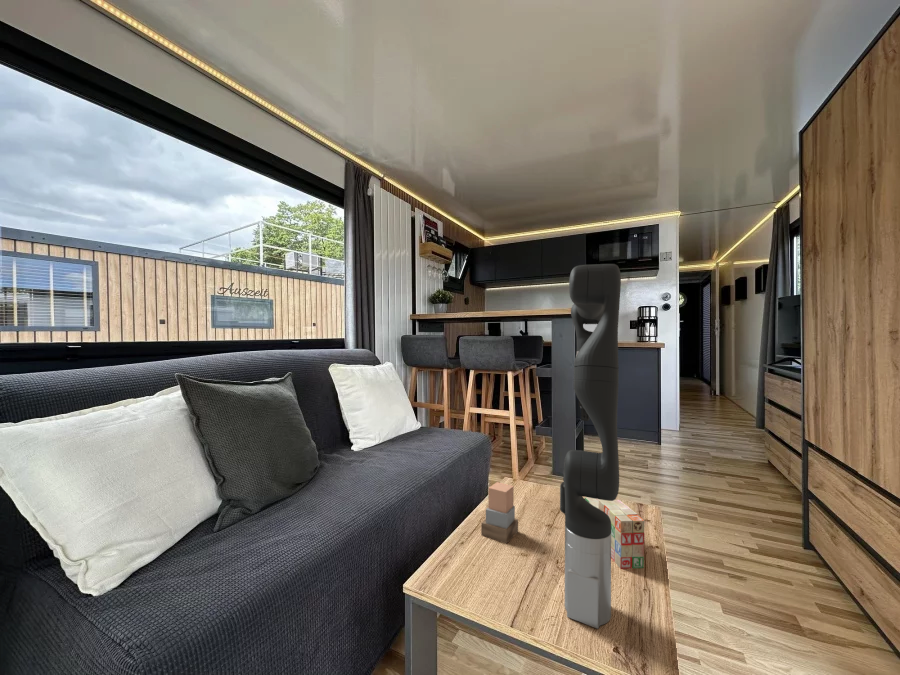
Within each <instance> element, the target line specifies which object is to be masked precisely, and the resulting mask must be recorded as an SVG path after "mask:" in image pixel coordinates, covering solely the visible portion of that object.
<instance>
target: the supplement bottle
mask: <svg viewBox="0 0 900 675" xmlns="http://www.w3.org/2000/svg"><path fill="white" fill-rule="evenodd" d="M562 476H563V477H562V482H561V483H560V486H559V510H560V511H561V513H563V515H565V487H564V474H563V475H562Z"/></svg>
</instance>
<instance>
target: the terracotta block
mask: <svg viewBox="0 0 900 675" xmlns="http://www.w3.org/2000/svg"><path fill="white" fill-rule="evenodd" d="M514 491H515V488H514V485H510V484H506V483H502V482H499V481H496V482H495V483H494V484H492V485H491V486H489V487H488V496H487V497H488V507H487V508H489V509H492V510H496V511H499V512H503V513H506V512H508V511H509V510H510V509H511V508H512V507H513V506H514V501H515V500H514Z"/></svg>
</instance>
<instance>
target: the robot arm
mask: <svg viewBox="0 0 900 675" xmlns="http://www.w3.org/2000/svg"><path fill="white" fill-rule="evenodd" d="M621 278H622V277H621V270H620V268H619V266H618V265H617V264H615V263H600V264H599V263H598V264H579V265H576V266H574V267H573V268H572V270H571V271H570V275H569V279H568V280H569V282H568V291H569V292H568V293H569V297H570V300H571V303H573V304H572V306H571V308H570V316H571V319H572V322H573V325H574V330H575V334H576V355H575V358H574V361H573V362H574V363H573V390H574V393H575V395H576V398H577V399H578V406H579V407H580V420H581V421H583V422H588V421H590V420H591V422H592V424H593V426H594V428H595V430H596V432H597V434H598V437H599V440H600V444H601V449H602V452H596V451H588V450H587V451H586V450H579V449H570V450H568V451H567V452H566V454H565V456H564V460H563V475H564V481H563V482H564V487H565V514H564V607H565V610H566V617H567V618H569V619H572V620H574V621H577V622H579V623H582V624H584V625H587V626H589V627H593V628H595V629H599V628H600V626H602V625H605V624H607V623H608V622H610V620H611V618H612V558H611V520H610V518H609V516H608V515H607V514H606V513H605V512H603V511H602V510H600V509H598V508H597V507H595V506H593V505H591V504H590V503H589V502H587V501H586V500H585V497H589V498H595V499H597V498H598V499H600V500H607V501H613V500H617V497H618V495H619V490H620V461H619V443H618V439H619V438H618V405H619V404H618V403H619V377H620V376H619V335H618V334H619V317H620V305H621V304H620V302H621V289H622V288H621V286H622V284H621V283H622V279H621ZM584 325H596V327H595V328H594V330H593V331H591V330H590V331H589V330H587V329H586V328H584Z"/></svg>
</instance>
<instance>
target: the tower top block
mask: <svg viewBox="0 0 900 675" xmlns="http://www.w3.org/2000/svg"><path fill="white" fill-rule="evenodd" d="M515 508H516V505H513V507H512V508H511V509H510V510H509V511H508V512H506V513H503V512H499V511H496V510H492V509H489V508H488V507H487V508H486V509H485V519H486V524H490V525H494V526H498V527H501V528H505V529H507V528H508V527H509V526H510V525H511V523H512V522H513V521H514V520H515V519H516V515H515V514H516V511H515V510H516V509H515Z"/></svg>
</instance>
